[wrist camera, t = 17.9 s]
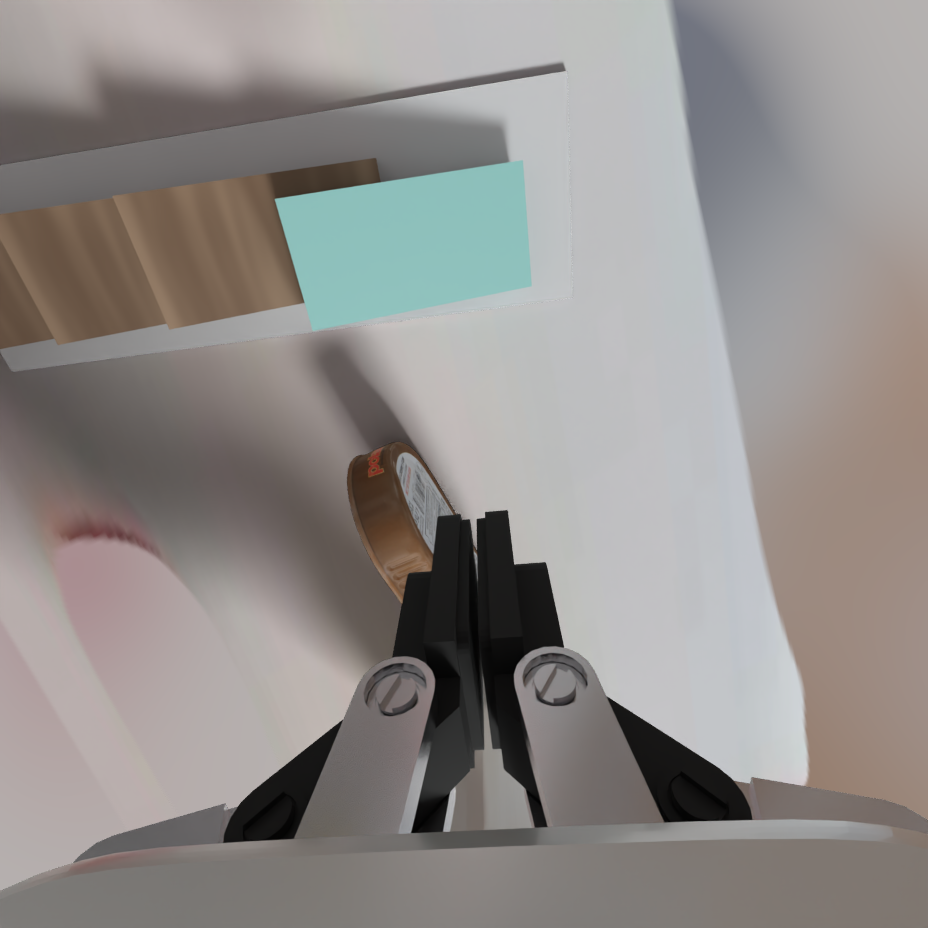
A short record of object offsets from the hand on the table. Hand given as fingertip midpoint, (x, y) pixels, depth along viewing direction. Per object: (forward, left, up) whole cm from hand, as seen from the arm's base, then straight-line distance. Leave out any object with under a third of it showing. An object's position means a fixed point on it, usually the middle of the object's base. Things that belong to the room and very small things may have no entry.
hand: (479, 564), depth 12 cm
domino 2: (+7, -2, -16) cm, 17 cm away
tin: (-5, +10, -17) cm, 20 cm away
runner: (+12, +3, -17) cm, 20 cm away
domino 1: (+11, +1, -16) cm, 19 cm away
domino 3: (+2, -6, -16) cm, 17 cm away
